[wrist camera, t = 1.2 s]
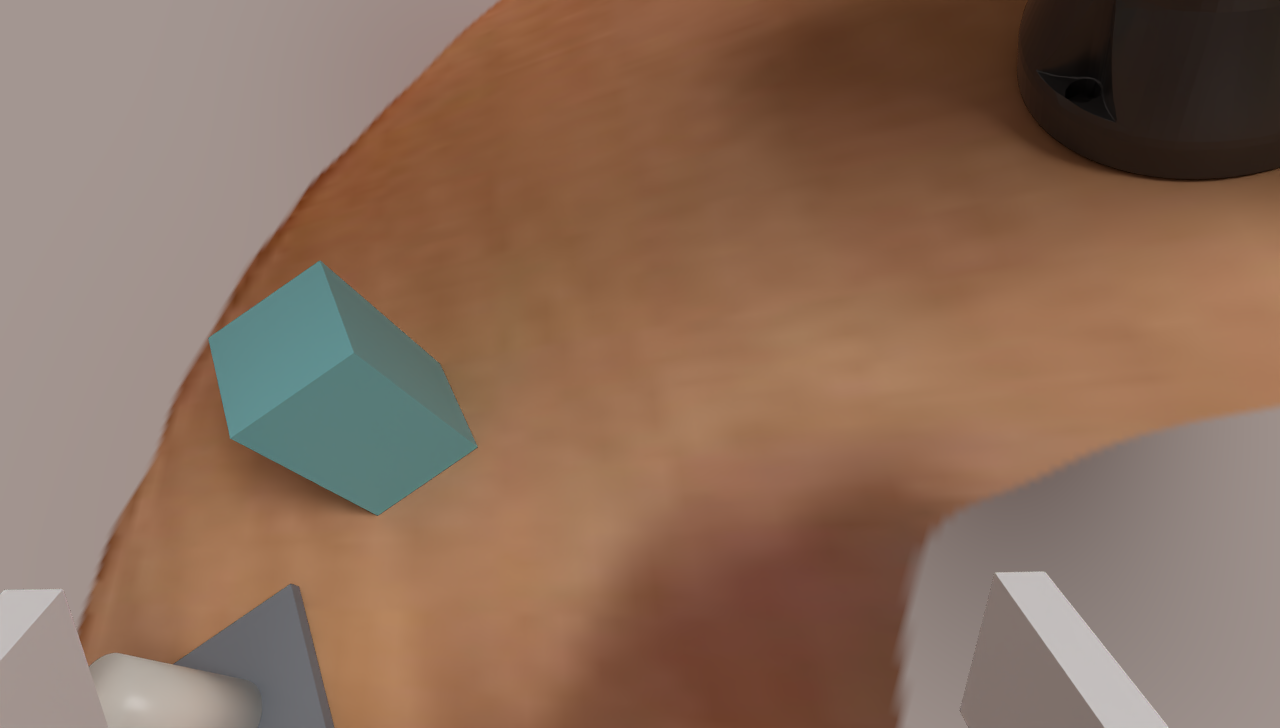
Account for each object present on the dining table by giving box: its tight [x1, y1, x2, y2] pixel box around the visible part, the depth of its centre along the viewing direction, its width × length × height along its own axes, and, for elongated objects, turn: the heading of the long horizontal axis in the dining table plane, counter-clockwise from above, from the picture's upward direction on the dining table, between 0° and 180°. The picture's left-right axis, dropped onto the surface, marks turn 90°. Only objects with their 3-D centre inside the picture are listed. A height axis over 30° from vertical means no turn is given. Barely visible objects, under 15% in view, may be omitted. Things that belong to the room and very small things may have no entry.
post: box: [89, 584, 334, 728], centre depth 36 cm, size 9×9×8 cm
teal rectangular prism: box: [208, 261, 477, 516], centre depth 39 cm, size 6×6×10 cm
